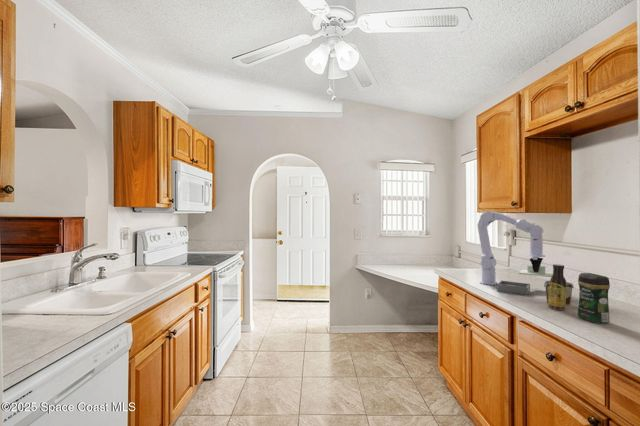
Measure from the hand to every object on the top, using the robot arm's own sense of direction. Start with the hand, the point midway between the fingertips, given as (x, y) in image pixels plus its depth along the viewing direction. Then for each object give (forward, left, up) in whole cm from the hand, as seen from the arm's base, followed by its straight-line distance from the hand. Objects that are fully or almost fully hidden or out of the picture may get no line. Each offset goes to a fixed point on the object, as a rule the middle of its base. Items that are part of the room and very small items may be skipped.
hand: (536, 271), depth 180 cm
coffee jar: (+47, +22, -11) cm, 53 cm away
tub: (+11, -10, -11) cm, 18 cm away
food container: (+25, +9, -11) cm, 29 cm away
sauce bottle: (+37, +10, -11) cm, 40 cm away
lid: (0, 0, -1) cm, 1 cm away
